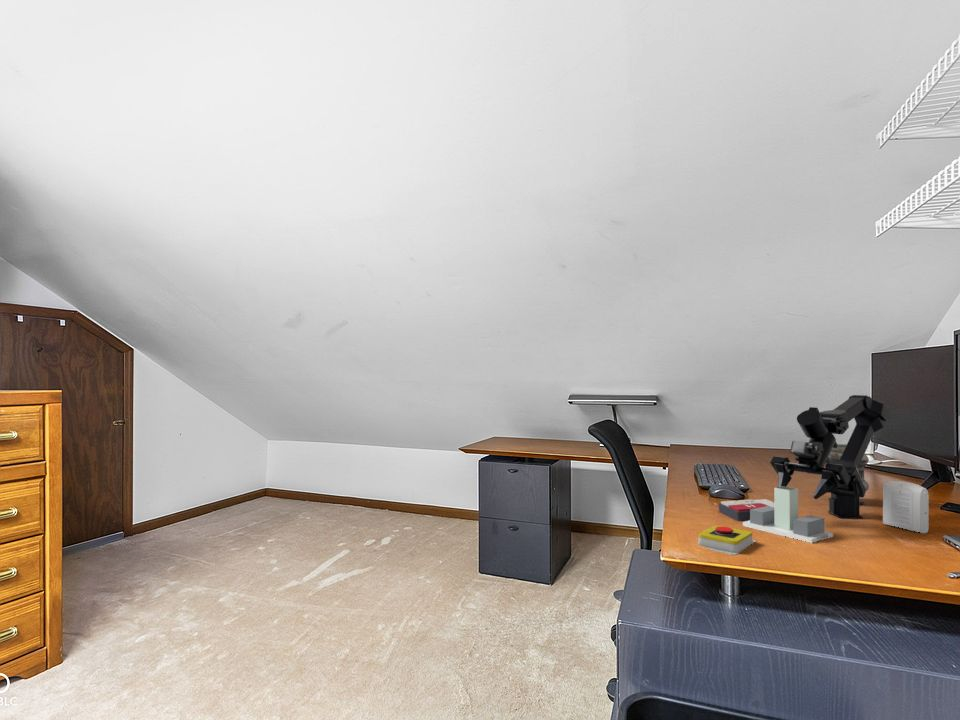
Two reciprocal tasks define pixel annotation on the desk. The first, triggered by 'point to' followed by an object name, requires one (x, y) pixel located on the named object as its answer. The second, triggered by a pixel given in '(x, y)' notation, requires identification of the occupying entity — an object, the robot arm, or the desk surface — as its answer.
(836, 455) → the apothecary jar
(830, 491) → the robot arm
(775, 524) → the block
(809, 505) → the desk surface
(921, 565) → the desk surface
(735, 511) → the calculator
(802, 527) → the rail board
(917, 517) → the white rounded upright block
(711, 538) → the emergency button
